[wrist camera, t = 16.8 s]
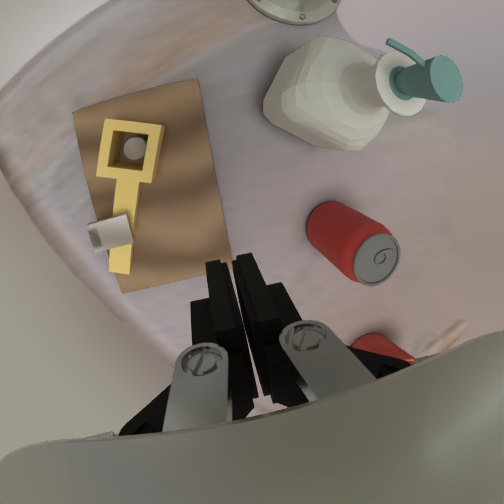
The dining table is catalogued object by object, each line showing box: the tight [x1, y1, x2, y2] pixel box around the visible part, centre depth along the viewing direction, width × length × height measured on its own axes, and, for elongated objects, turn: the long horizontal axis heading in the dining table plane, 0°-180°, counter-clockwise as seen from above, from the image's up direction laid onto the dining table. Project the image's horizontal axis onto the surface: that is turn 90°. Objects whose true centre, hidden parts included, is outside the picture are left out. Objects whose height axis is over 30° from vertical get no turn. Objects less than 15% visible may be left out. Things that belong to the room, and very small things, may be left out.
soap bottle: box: [263, 36, 463, 152], centre depth 23 cm, size 10×10×23 cm
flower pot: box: [351, 333, 415, 363], centre depth 46 cm, size 11×11×10 cm
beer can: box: [307, 202, 400, 286], centre depth 34 cm, size 7×7×12 cm
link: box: [96, 119, 165, 274], centre depth 30 cm, size 16×5×5 cm, turn 167°
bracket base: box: [72, 78, 232, 294], centre depth 31 cm, size 22×14×7 cm, turn 9°
